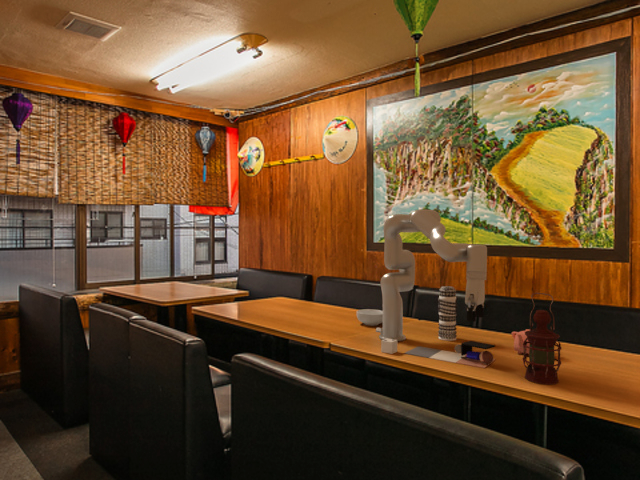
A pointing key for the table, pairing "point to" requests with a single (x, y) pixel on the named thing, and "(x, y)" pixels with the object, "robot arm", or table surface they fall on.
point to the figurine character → (483, 356)
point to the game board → (445, 356)
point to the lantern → (542, 349)
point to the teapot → (520, 341)
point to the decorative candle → (447, 313)
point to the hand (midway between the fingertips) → (475, 319)
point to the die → (389, 346)
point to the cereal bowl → (370, 316)
